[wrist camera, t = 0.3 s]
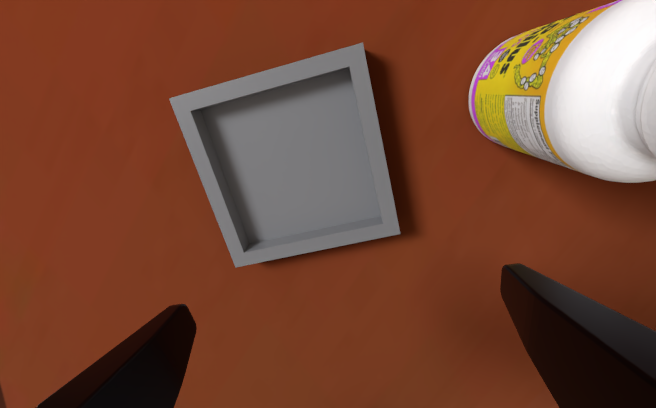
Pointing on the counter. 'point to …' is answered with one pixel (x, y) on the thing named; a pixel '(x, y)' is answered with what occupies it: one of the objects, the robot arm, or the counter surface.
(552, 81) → the supplement bottle
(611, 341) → the robot arm
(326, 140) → the tray
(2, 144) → the counter surface
